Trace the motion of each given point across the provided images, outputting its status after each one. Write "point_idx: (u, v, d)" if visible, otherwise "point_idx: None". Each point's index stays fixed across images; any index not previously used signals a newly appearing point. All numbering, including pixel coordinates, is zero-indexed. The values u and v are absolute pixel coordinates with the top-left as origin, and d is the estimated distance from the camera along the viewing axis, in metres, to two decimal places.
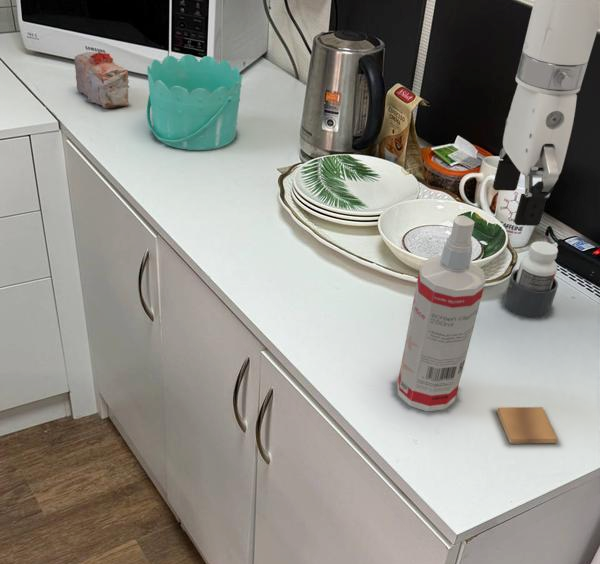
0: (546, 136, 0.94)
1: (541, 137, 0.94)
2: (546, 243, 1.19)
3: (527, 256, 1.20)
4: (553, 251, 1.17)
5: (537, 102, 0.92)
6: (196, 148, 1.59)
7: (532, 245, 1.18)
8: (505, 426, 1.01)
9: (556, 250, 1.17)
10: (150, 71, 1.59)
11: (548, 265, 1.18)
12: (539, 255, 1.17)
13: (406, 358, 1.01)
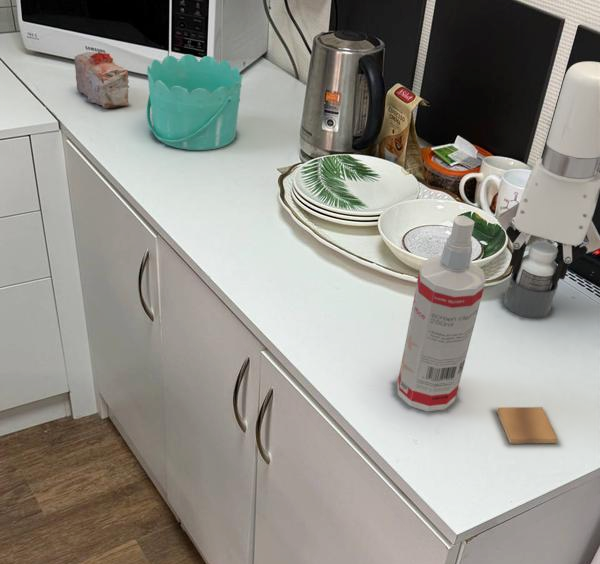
0: (593, 210, 1.11)
1: (592, 212, 1.11)
2: (546, 243, 1.19)
3: (527, 256, 1.20)
4: (553, 251, 1.17)
5: (588, 189, 1.08)
6: (196, 148, 1.59)
7: (532, 245, 1.18)
8: (505, 426, 1.01)
9: (556, 250, 1.17)
10: (150, 71, 1.59)
11: (548, 265, 1.18)
12: (539, 255, 1.17)
13: (406, 358, 1.01)
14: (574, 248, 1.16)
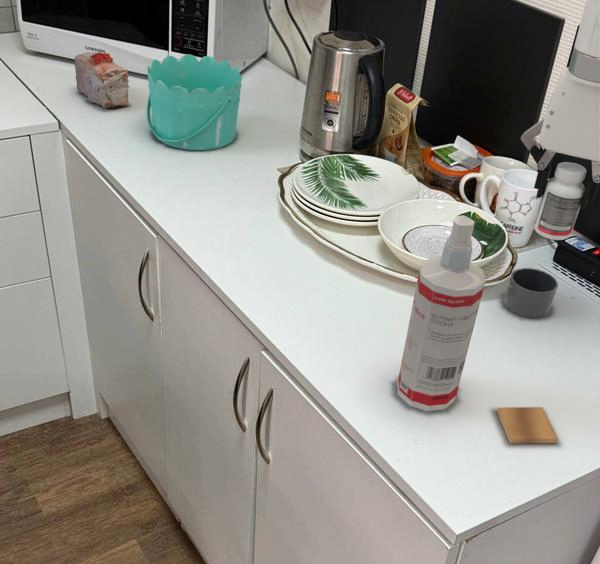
0: None
1: None
2: (573, 164, 1.11)
3: (553, 178, 1.11)
4: (581, 171, 1.09)
5: None
6: (196, 148, 1.59)
7: (559, 165, 1.10)
8: (505, 426, 1.01)
9: (585, 170, 1.09)
10: (150, 71, 1.59)
11: (576, 187, 1.10)
12: (566, 175, 1.08)
13: (406, 358, 1.01)
14: None
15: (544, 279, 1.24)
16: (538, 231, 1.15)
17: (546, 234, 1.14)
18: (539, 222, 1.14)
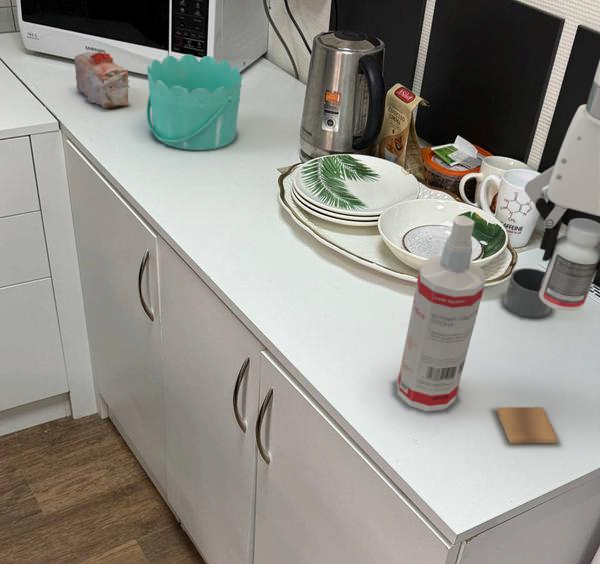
0: None
1: None
2: (589, 221, 0.90)
3: (563, 237, 0.91)
4: (599, 231, 0.88)
5: None
6: (196, 148, 1.59)
7: (571, 223, 0.89)
8: (505, 426, 1.01)
9: None
10: (150, 71, 1.59)
11: (592, 250, 0.89)
12: (580, 236, 0.88)
13: (406, 358, 1.01)
14: None
15: None
16: (543, 300, 0.94)
17: (554, 304, 0.93)
18: (546, 289, 0.93)
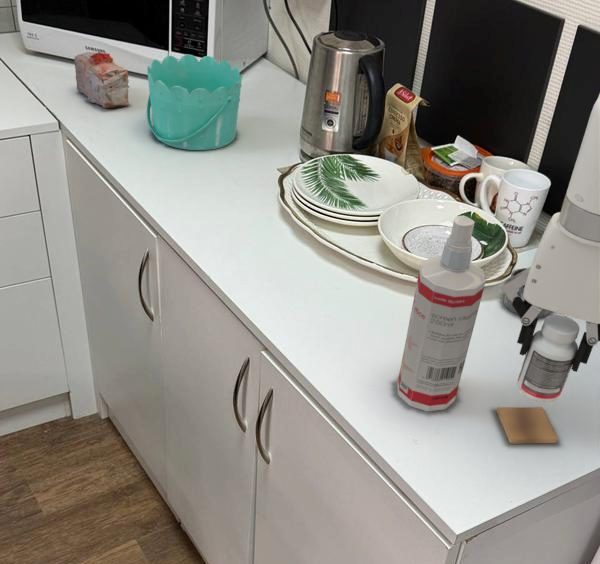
0: None
1: None
2: (564, 318, 0.93)
3: (539, 333, 0.94)
4: (573, 329, 0.91)
5: None
6: (196, 148, 1.59)
7: (546, 320, 0.92)
8: (505, 426, 1.01)
9: (578, 328, 0.91)
10: (150, 71, 1.59)
11: (567, 347, 0.92)
12: (555, 335, 0.91)
13: (406, 358, 1.01)
14: None
15: None
16: (521, 391, 0.97)
17: (531, 396, 0.96)
18: (523, 381, 0.96)
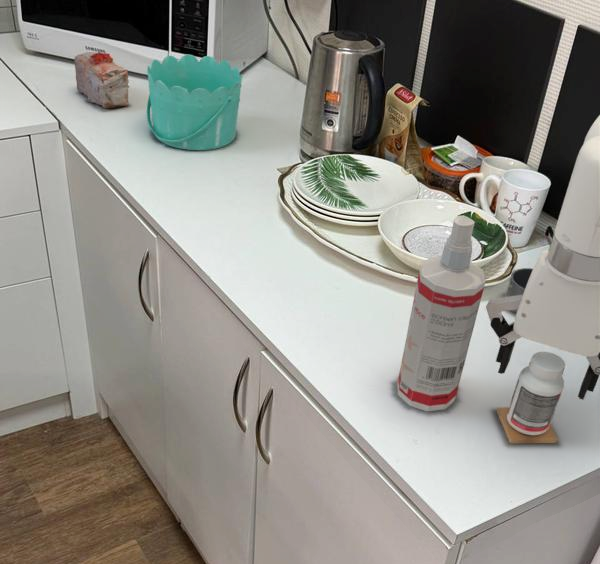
0: None
1: None
2: (551, 354, 0.96)
3: (527, 369, 0.97)
4: (559, 366, 0.94)
5: None
6: (196, 148, 1.59)
7: (533, 358, 0.95)
8: (505, 426, 1.01)
9: (563, 365, 0.95)
10: (150, 71, 1.59)
11: (553, 383, 0.95)
12: (542, 372, 0.94)
13: (406, 358, 1.01)
14: None
15: None
16: (511, 424, 1.00)
17: (520, 429, 0.99)
18: (512, 415, 0.99)
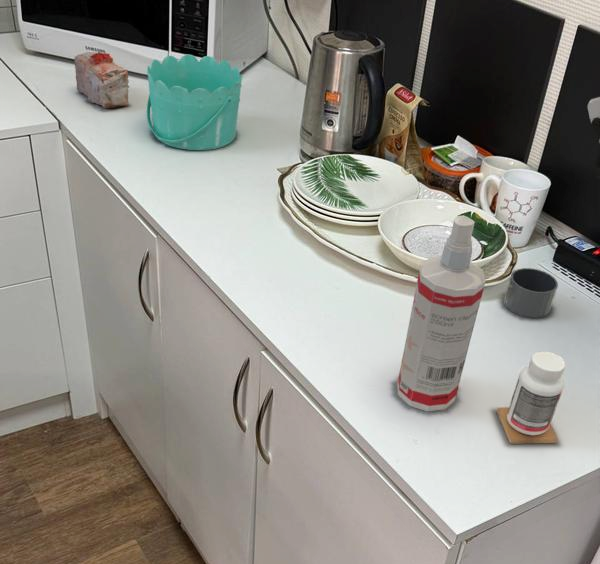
0: None
1: None
2: (551, 354, 0.96)
3: (527, 369, 0.97)
4: (559, 366, 0.94)
5: None
6: (196, 148, 1.59)
7: (533, 357, 0.95)
8: (505, 426, 1.01)
9: (563, 365, 0.95)
10: (150, 71, 1.59)
11: (553, 383, 0.95)
12: (542, 371, 0.94)
13: (406, 358, 1.01)
14: None
15: (544, 279, 1.24)
16: (511, 424, 1.00)
17: (520, 429, 0.99)
18: (512, 415, 0.99)
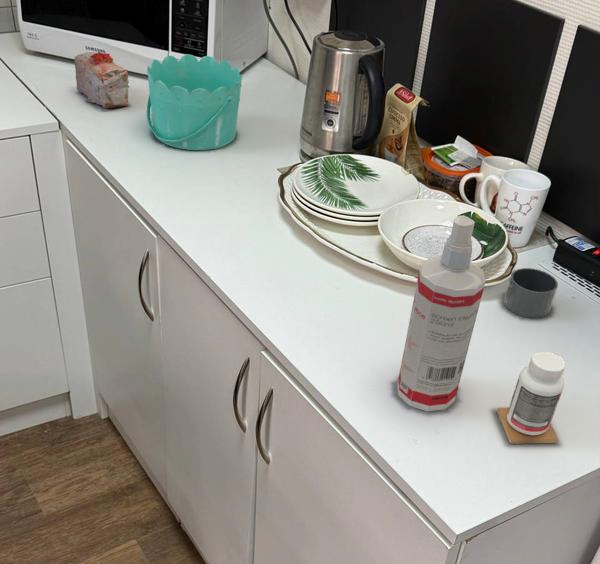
0: None
1: None
2: (551, 354, 0.96)
3: (527, 369, 0.97)
4: (559, 366, 0.94)
5: None
6: (196, 148, 1.59)
7: (533, 357, 0.95)
8: (505, 426, 1.01)
9: (563, 365, 0.95)
10: (150, 71, 1.59)
11: (553, 383, 0.95)
12: (542, 371, 0.94)
13: (406, 358, 1.01)
14: None
15: (544, 279, 1.24)
16: (511, 424, 1.00)
17: (520, 429, 0.99)
18: (512, 415, 0.99)
